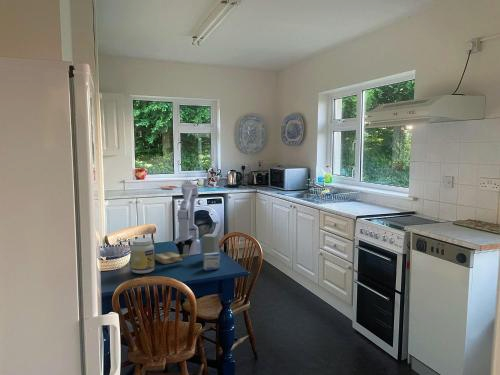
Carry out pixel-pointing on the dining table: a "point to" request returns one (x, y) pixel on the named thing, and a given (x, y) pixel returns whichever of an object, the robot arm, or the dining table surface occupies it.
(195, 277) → the dining table surface
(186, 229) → the robot arm
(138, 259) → the supplement tub
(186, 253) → the column
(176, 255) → the green-striped tan block
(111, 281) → the dining table surface
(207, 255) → the medicine box
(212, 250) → the skincare box
